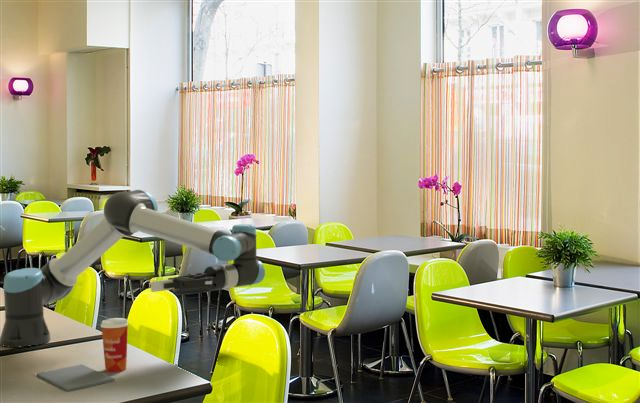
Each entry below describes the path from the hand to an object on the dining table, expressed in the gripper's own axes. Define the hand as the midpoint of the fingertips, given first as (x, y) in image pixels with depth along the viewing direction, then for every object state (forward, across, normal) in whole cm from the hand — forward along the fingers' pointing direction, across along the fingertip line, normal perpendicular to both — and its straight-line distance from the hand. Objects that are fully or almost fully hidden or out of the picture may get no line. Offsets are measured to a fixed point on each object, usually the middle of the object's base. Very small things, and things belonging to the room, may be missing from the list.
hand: (152, 287), depth 223 cm
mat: (+24, 0, -22) cm, 32 cm away
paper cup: (+12, 0, -22) cm, 25 cm away
